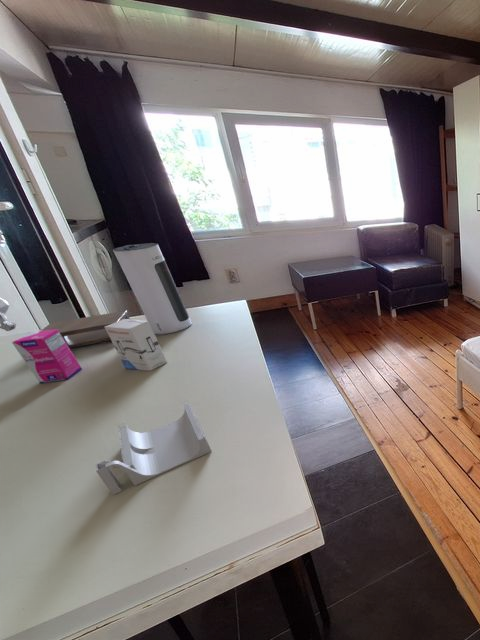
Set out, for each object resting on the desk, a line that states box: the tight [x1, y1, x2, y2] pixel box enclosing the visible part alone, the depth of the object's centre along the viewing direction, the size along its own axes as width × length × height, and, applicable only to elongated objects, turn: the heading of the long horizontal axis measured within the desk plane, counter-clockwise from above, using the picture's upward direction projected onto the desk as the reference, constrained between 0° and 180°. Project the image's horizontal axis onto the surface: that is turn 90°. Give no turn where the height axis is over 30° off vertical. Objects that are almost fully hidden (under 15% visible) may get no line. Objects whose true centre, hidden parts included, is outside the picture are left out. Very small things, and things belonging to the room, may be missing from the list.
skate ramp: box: [95, 401, 212, 496], centre depth 63 cm, size 15×13×5 cm
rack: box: [40, 310, 131, 349], centre depth 108 cm, size 18×12×6 cm, turn 119°
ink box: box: [105, 318, 168, 372], centre depth 91 cm, size 9×5×12 cm, turn 76°
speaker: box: [112, 242, 193, 335], centre depth 110 cm, size 11×10×26 cm
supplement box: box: [11, 329, 83, 384], centre depth 88 cm, size 6×6×12 cm
